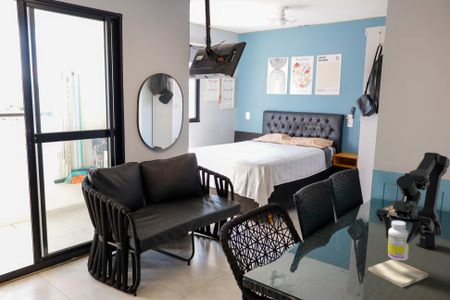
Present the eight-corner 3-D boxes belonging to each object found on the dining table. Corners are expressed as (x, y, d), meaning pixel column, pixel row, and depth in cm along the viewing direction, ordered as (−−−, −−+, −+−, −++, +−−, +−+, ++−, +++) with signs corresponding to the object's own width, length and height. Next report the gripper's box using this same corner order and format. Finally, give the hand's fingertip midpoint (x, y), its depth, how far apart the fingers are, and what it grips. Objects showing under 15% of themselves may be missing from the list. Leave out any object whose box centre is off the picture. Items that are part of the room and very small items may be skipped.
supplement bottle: (397, 251, 132) (398, 218, 130) (412, 258, 126) (414, 223, 124) (383, 255, 130) (384, 221, 128) (398, 262, 124) (399, 227, 122)
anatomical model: (394, 227, 175) (395, 217, 174) (374, 222, 182) (374, 213, 181) (410, 215, 191) (411, 206, 190) (391, 212, 198) (391, 203, 197)
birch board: (392, 261, 138) (392, 258, 138) (427, 276, 126) (428, 273, 126) (367, 270, 132) (367, 267, 131) (402, 287, 119) (402, 284, 119)
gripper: (377, 187, 134) (364, 223, 128) (433, 195, 121) (420, 236, 115) (386, 203, 141) (373, 238, 135) (439, 212, 127) (427, 251, 121)
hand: (397, 240), depth 126 cm, fingers closed on supplement bottle, 7 cm apart
